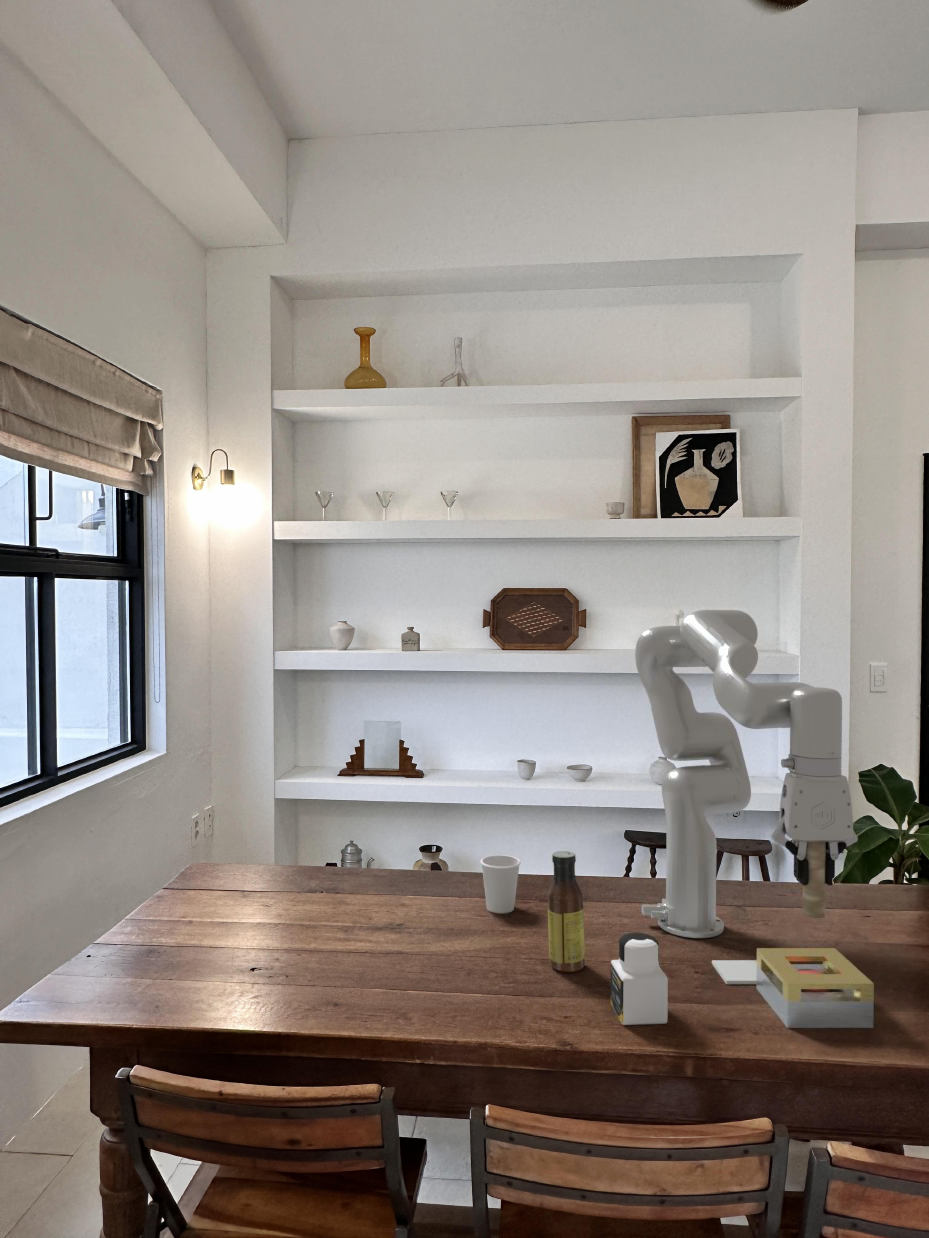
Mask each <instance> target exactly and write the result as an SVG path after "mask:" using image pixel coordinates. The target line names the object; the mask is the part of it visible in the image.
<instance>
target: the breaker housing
mask: <svg viewBox="0 0 929 1238" xmlns="http://www.w3.org/2000/svg"><path fill="white" fill-rule="evenodd" d="M756 960H757V977H756V984H755V985H756V987H755V988H756V991H758V992H759V994H760V995H761V996H762V997H763V999H764V1000H765V1001H766V1002H767V1004H768V1005H769V1007H770V1008H771V1009H772V1010H773V1011H774V1013H775V1014H776V1015H777V1017H778V1018H779V1020H781V1022H782V1023H783V1025H784V1026H785V1027H786V1028H787V1029H793V1028H794V1029H829V1028H830V1029H838V1028H839V1029H852V1028H853V1029H857V1028H858V1029H863V1028H864V1029H871V1028H872V1029H873V1028H874V1012H875V1011H874V1010H875V1009H874V1005H875V1004H874V1001H875V1000H874V999H875V998H874V996H875V994H874V993H875V984H874V982H872V980H871V979H870V978H868V977H867V976H866V975H865V974H864V973H863V972H862V971H860V970H859V969H858V968H857V967H856V966H855V965H854V963H852V962H851V961H850V960H848V959H847V958H846V956H844V955H843V954H842V953H841V952H840V951H839V950H837V949H836V948H835V947H827V948H826V947H818V948H817V947H815V948H814V947H806V948H805V947H804V948H803V947H794V948H793V947H792V948H791V947H789V948H788V947H786V948H785V947H770V948H769V947H767V948H766V947H761V948H760V947H758V948H756ZM791 962H822V963H821V964H819V963H818V964H817V963H815V964H814V963H813V964H812V963H811V964H810V963H809V964H806V963H805V964H803V963H801V964H799V963H798V964H797V963H796V964H795V963H793V964H792V963H791ZM800 969H813V970H817V971H821V972H823V973H825V974H800V973H799V972H798V971H797V970H800ZM801 989H829V992H801Z"/></svg>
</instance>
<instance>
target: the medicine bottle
mask: <svg viewBox="0 0 929 1238" xmlns="http://www.w3.org/2000/svg"><path fill="white" fill-rule="evenodd" d="M618 940H619V941H618V946H619V947H618V959H612V960H611V961H610V1005H611V1006H612V1008H613V1011H614V1012H615V1014H616V1016H617V1018H618V1020H619V1022H620V1023H621V1024H622V1025H623V1026H631V1025H632V1026H634V1025H636V1026H637V1025H639V1026H640V1025H658V1024H659V1025H662V1024H663V1025H664V1024H665V1025H666V1024H667V1023H668V1009H669V1008H668V1001H669V999H668V998H669V997H668V995H669V994H668V993H669V989H668V988H669V987H668V986H669V984H668V983H669V978H668V977H667V975H666V974H665V972H664V971H663V970H662V969H661V967H660V965H659V962H660V960H659V957H660V956H659V955H660V953H659V952H660V951H659V948H660V943H659V941H658V940H657V938H656V937H654V936H652V935H650V934H647V933H644V932H639V931H638V932H629V933H625V934H623V935H621V937H620V938H619V939H618Z"/></svg>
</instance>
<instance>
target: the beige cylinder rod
mask: <svg viewBox="0 0 929 1238" xmlns="http://www.w3.org/2000/svg"><path fill="white" fill-rule="evenodd" d="M825 853H826V842H807V846H806V854H805V855H806V860H808V862H809V874H808V885H802V914H803V916H805V917H807V918H811V919H824V918H825V916H826V883H825Z"/></svg>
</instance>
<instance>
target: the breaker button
mask: <svg viewBox="0 0 929 1238" xmlns="http://www.w3.org/2000/svg"><path fill="white" fill-rule="evenodd" d="M797 971H798V972H799V973H800V974H825V973H823V972H821V971H817V970H813V969H800V970H797ZM801 992H829V989H801Z"/></svg>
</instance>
